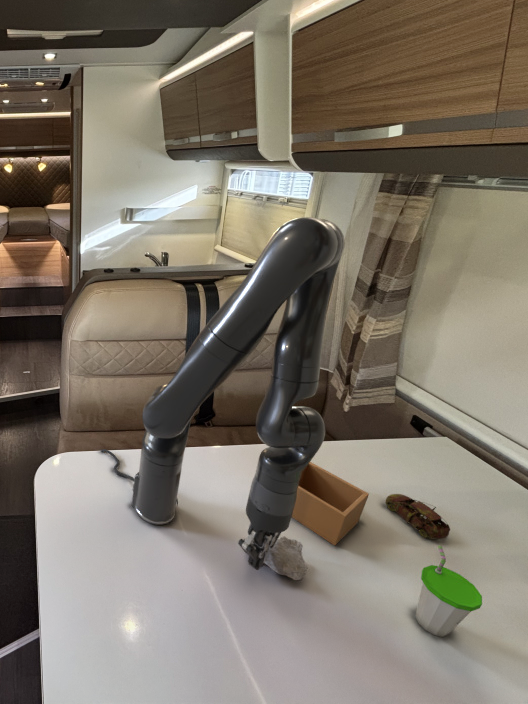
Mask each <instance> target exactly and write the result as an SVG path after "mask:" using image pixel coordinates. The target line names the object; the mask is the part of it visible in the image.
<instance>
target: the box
mask: <svg viewBox="0 0 528 704" xmlns="http://www.w3.org/2000/svg"><path fill="white" fill-rule="evenodd" d="M369 496H370V493H369V492H367V491H365V490H363V489H361V488H359V487H358V486H356V485H354V484H352V483H350V482H348V481H347V480H344V479H343V478H341V477H339V476H338V475H335V474H334V473H332V472H330V471H328V470H326V469H325V468H323V467H321V466H319V465H317V464H316V463H314V462H311V461H310V463H309V464H308V465H307V466H306V468H305V469H304V470H303V471H302V474H301V478H300V482H299V486H298V489H297V498H296V503H295V506H294V510H293V513H292V517H291V519H292V518H293V519H294V520H295V521H296V522H298V523H300V524H301V525H302V526H304V527H306V528H307V529H309V530H310V531H312V532H313V533H315V534H317V535H318V536H320V537H321V538H322V539H324V540H325V541H327V542H329V543H330V544H331V545H333V546H336V545H337V544H338V543H339V542H340V541H341V540H342V539H343V538H344V537H346V535H347V534H348V533H349V532H350V531H352V529H354V527H355V526H357V524H358V523H360V519H361V517H362V514H363V511H364V508H365V506H366V503H367V502H368V499H369Z"/></svg>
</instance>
